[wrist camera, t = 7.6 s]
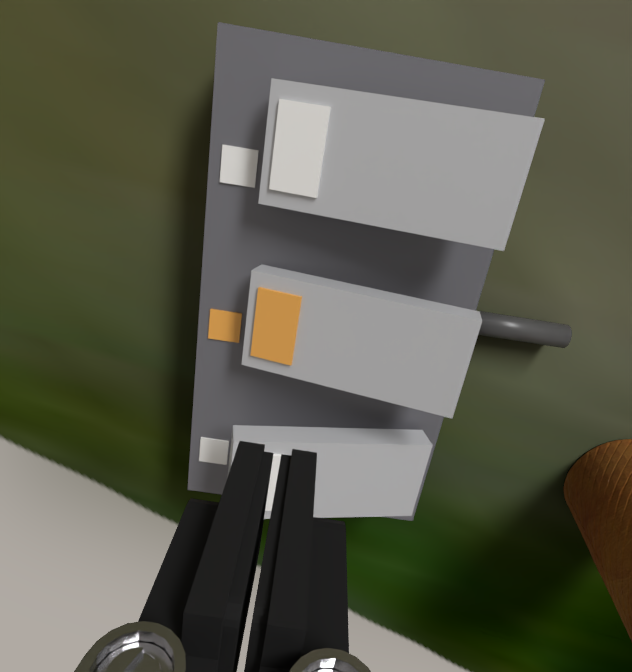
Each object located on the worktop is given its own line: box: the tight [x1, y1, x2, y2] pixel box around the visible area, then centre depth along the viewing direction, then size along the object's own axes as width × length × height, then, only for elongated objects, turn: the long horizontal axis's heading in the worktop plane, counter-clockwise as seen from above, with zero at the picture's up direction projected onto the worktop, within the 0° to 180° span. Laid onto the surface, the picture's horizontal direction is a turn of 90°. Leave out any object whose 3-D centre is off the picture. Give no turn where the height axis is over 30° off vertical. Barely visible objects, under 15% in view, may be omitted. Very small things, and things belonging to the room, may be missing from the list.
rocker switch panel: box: [188, 22, 572, 521], centre depth 23 cm, size 18×21×4 cm
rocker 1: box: [258, 78, 545, 251], centre depth 17 cm, size 9×4×1 cm, turn 80°
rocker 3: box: [227, 425, 433, 519], centre depth 22 cm, size 9×4×1 cm, turn 83°
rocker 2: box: [241, 264, 482, 418], centre depth 19 cm, size 9×4×1 cm, turn 79°
